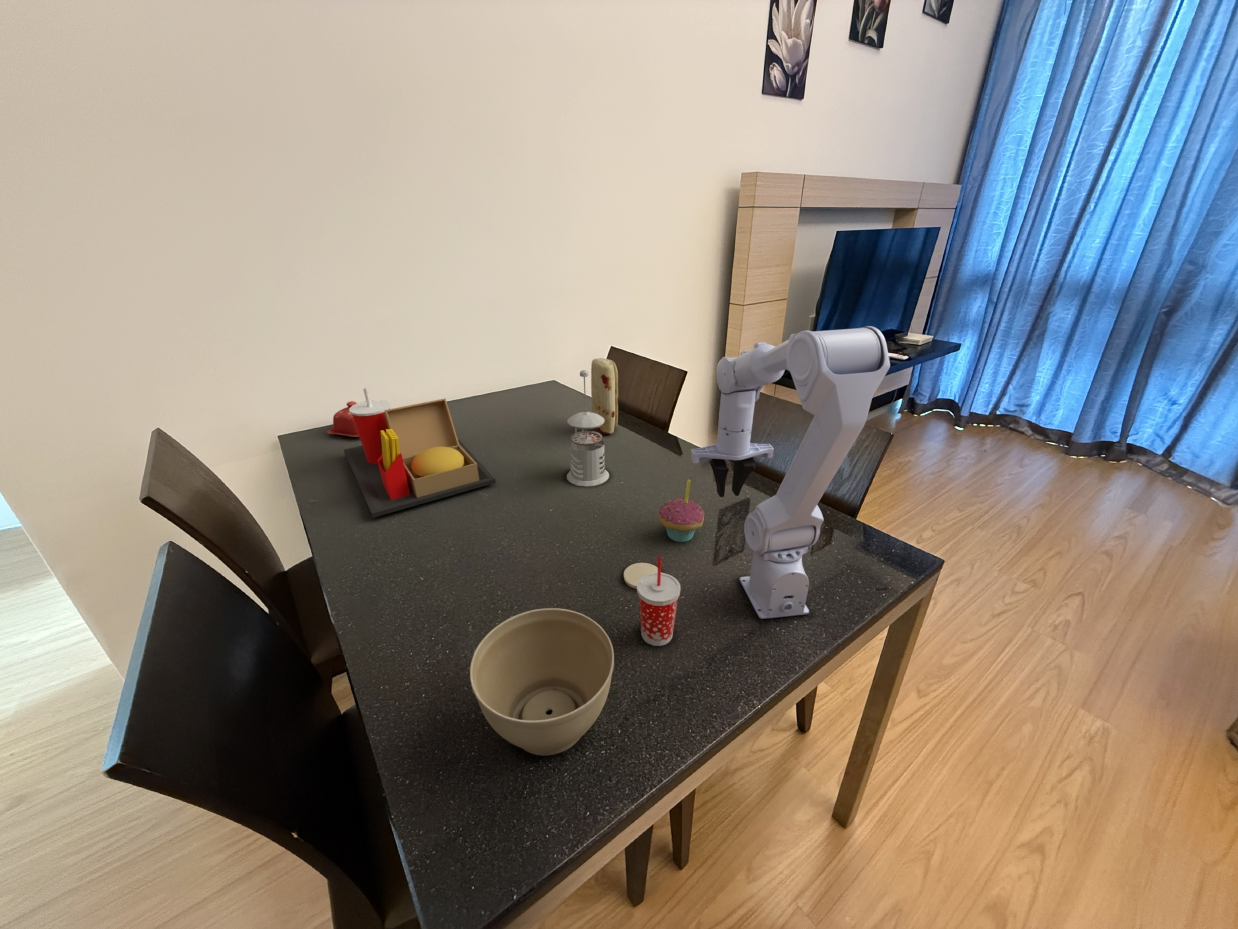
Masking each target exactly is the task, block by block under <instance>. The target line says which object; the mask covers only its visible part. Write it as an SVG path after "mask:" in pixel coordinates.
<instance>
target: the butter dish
mask: <svg viewBox="0 0 1238 929" xmlns="http://www.w3.org/2000/svg"><path fill="white" fill-rule="evenodd" d="M355 404H357V402H356V401H353V400H351V401H347V402H346V406H347V407H344V408H342V409H340V410H338V411H337V412H335V413H334V415H333V417H332V419H333V420H332V424H333V425H332V428H330V429H329V430H327V431H326V433H327V434H330V435H337V436H343V437H352V438H360V437H359V434H358V431H357V428H356V426H355V423H354V420H353V417H352V414H351V413H350V412H349V408H350V407H351V406H353V405H355Z"/></svg>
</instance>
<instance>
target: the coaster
mask: <svg viewBox="0 0 1238 929" xmlns="http://www.w3.org/2000/svg"><path fill="white" fill-rule="evenodd" d="M654 572H656V573H658V566H656V565H654V564H652V563H649V562H636V563H632V564H631V565H629V566H627V567H626V568H625V569H624V572H623V580H624V582H625V583H626V585H627V586H629V587H630V588H633V589H635V590H637V582H638V581H639V580H640V578H641V577H643V576H645V575H646V574H650V573H654Z"/></svg>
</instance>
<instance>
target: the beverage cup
mask: <svg viewBox="0 0 1238 929" xmlns="http://www.w3.org/2000/svg"><path fill="white" fill-rule="evenodd" d="M657 568H658V573H656V572H654V573H650V574H646V575H645V576H643V577H641V578H640V580H639V581H638V582H637V589H636V593H637V595H638V600H639V601H638V603H639V617H640V632H641V633H640V634H641V638H642V640H643V641H644V642H645V643H647V644H649V645H651V646H655V647H657V646H658V647H661V646H665V645H667V644H669V643H670V642H671V641H672V639H673V636H674V628H675V620H676V614H677V606H678V599H679V597H680V595H681V583H680V582H679V580H678V579H677V578H676V577H675V576H673V575H671V574H668V573H665V572H662V556H661V555H659V556H658V557H657Z"/></svg>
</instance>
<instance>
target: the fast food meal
mask: <svg viewBox="0 0 1238 929" xmlns="http://www.w3.org/2000/svg"><path fill="white" fill-rule="evenodd" d="M362 389H363V394H364V398H365V401H362V402H358V403H357V402H356V403H357V404H355V405H353V406H351V407H350V408H349V412H350V413H351V414H352V417H353V420H354V423H355V426H356V428H357V431H358V434H359V437H358V438H359V439H360V443H361V445H358V446H353V447H350V448H344V449H343V453H344V455H345V458H346V459H347V462H348V464H349V467H350V469H351V471H352V474H353V476H354V478H355V480H356V483H357V486H359V489H360V492H361V495H362V496H363V499H364V501H365V503H366V506H367V507H368V510H369V512H370V514H371V517H372V518H377V517H381V516H385V515H387V514H391V513H394V512H398V511H401V510H405V509H408V508H413V507H415V506H419V505H423V504H426V503H430V502H433V501H437V500H440V499H444V498H447V497H451V496H454V495H457V494H461V493H464V492H468V491H471V490H475V489H478V488H482V487H485V486H489V485H493V484H495V483H496V478H495V477H494V476H493V475H492V474H491V473H490V472H489V470H487V469H486V468H485V467H484V465H483V464H482V463H481V462H480V461H479V460H478V459H477V458H476V457H475V456H474V455H473V453H471V451H470V450H469V449H468V447H466V446H465V445H464V444H463V443H462V441H461V440H460V439H458V435H457V432H456V429H455V426H454V423H453V418H452V415H451V411H450V409H449V406H448V402H447V399H446V398H441V399H440V398H439V399H436V400H431V401H424V402H419V403H414V404H410V405H405V406H399V407H394V408H391V402H389V401H387V400H383V399H373V400H372V399H371V396H370V395H371V394H370V393H369V392H370V391H369V388H368V387H363V388H362Z"/></svg>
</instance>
